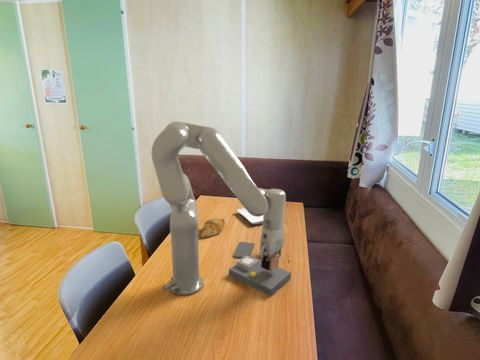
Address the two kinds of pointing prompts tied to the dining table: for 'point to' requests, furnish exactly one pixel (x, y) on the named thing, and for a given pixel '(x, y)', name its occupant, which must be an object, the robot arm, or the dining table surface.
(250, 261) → the button
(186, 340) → the dining table surface
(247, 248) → the smartphone
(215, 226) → the croissant
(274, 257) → the block
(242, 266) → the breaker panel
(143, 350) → the dining table surface
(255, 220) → the salad plate
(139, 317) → the dining table surface
